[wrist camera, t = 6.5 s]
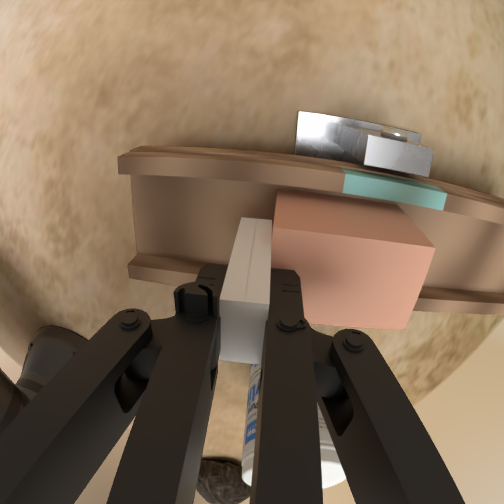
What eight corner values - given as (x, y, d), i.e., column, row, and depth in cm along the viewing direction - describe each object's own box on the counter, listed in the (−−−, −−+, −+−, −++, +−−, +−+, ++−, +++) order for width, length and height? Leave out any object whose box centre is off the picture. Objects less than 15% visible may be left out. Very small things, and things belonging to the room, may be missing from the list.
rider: (270, 260, 19) (263, 318, 14) (277, 188, 17) (273, 227, 12) (380, 272, 18) (404, 329, 13) (397, 204, 16) (435, 247, 11)
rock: (180, 458, 48) (180, 503, 39) (232, 448, 46) (237, 497, 38) (208, 472, 53) (210, 512, 44) (255, 463, 51) (261, 505, 43)
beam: (168, 231, 26) (127, 281, 19) (166, 136, 22) (114, 156, 15) (484, 269, 24) (524, 318, 17) (509, 192, 20) (563, 227, 13)
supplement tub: (257, 324, 31) (246, 456, 18) (346, 333, 31) (372, 457, 18) (246, 381, 35) (235, 491, 22) (322, 388, 35) (331, 494, 22)
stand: (280, 263, 27) (282, 326, 20) (298, 109, 21) (312, 113, 14) (385, 272, 27) (415, 331, 20) (417, 132, 21) (475, 151, 14)
